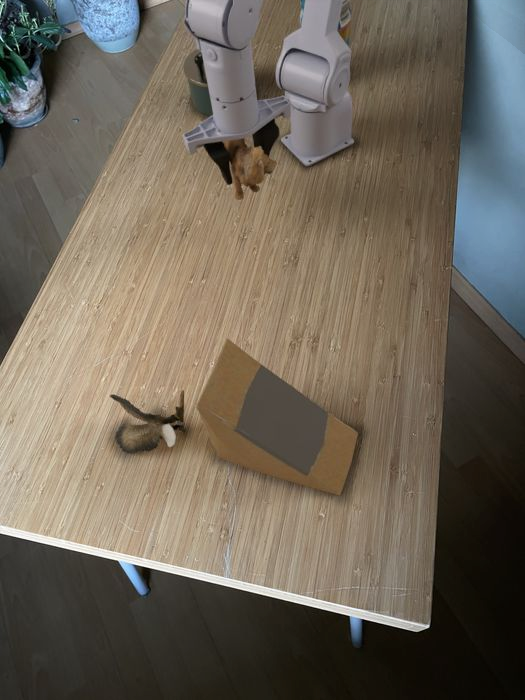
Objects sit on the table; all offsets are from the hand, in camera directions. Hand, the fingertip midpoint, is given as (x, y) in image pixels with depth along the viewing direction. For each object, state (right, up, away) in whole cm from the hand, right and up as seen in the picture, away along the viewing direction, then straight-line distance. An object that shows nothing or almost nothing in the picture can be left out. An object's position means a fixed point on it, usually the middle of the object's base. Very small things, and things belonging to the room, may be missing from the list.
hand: (244, 173), depth 84 cm
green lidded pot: (-5, +20, +22) cm, 30 cm away
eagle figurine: (-11, -35, -10) cm, 38 cm away
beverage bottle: (+14, +25, +23) cm, 36 cm away
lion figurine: (0, -1, +2) cm, 2 cm away
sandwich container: (+6, -37, -12) cm, 39 cm away
